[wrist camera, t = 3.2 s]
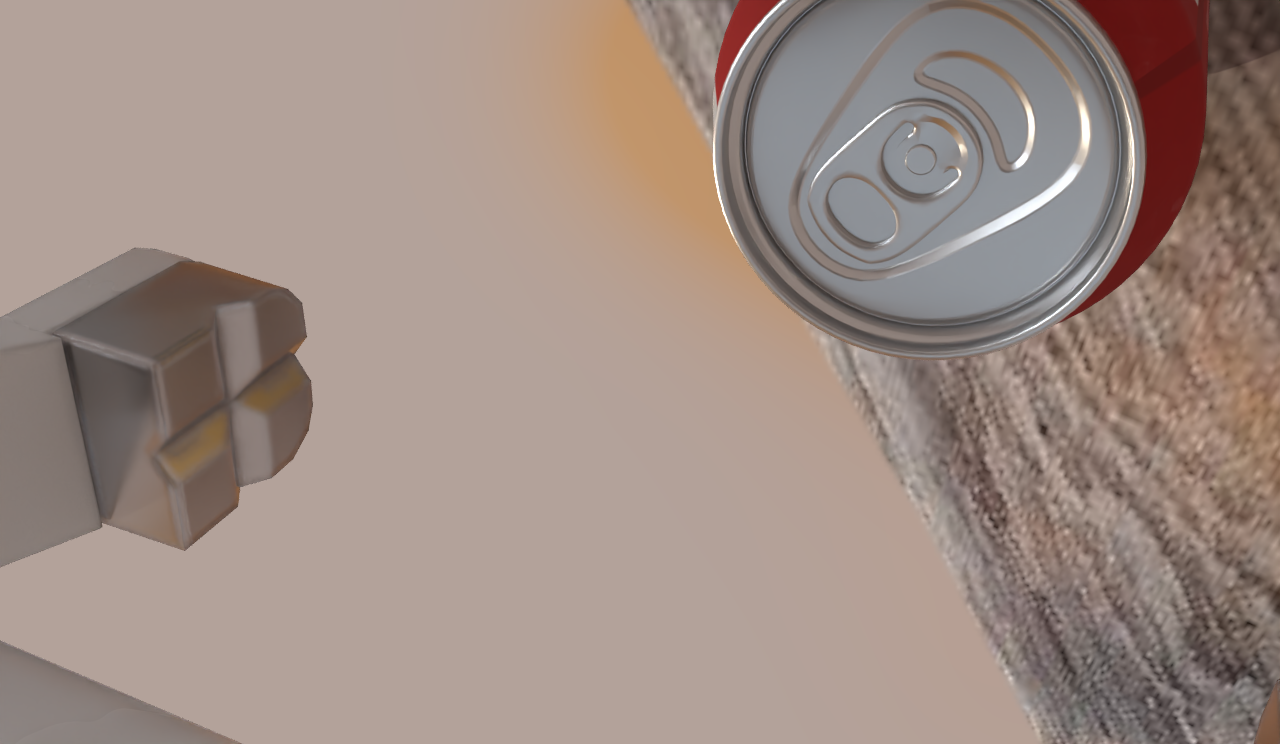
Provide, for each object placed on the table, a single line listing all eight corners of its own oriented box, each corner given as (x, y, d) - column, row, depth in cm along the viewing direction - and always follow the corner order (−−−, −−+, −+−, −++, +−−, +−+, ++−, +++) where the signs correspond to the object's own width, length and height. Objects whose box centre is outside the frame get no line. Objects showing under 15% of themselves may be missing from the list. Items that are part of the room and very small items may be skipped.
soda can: (1289, -24, 23) (1337, 195, 14) (1014, 195, 27) (904, 481, 18) (1050, -284, 23) (926, -246, 13) (806, -22, 27) (577, 152, 17)
